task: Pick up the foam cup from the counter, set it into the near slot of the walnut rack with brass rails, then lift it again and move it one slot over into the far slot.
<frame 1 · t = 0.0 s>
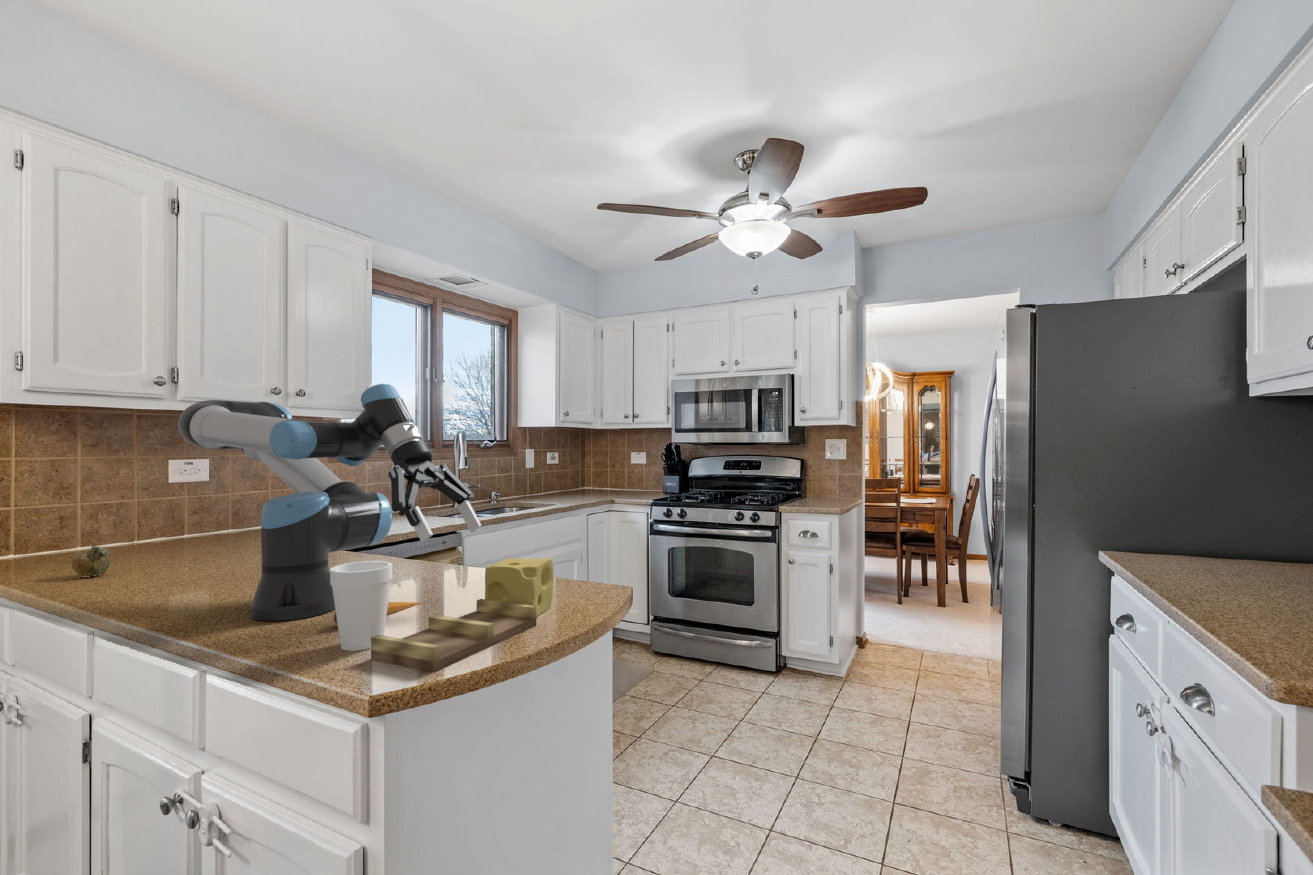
hand: (453, 533, 122), 15 cm above the worktop, tool tilted 35°, fingers open, 13 cm apart
rack: (460, 640, 103), on the worktop
foam cup: (362, 645, 102), on the worktop
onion: (91, 577, 156), on the worktop
cheese: (519, 613, 121), on the worktop
carrot: (384, 617, 119), on the worktop
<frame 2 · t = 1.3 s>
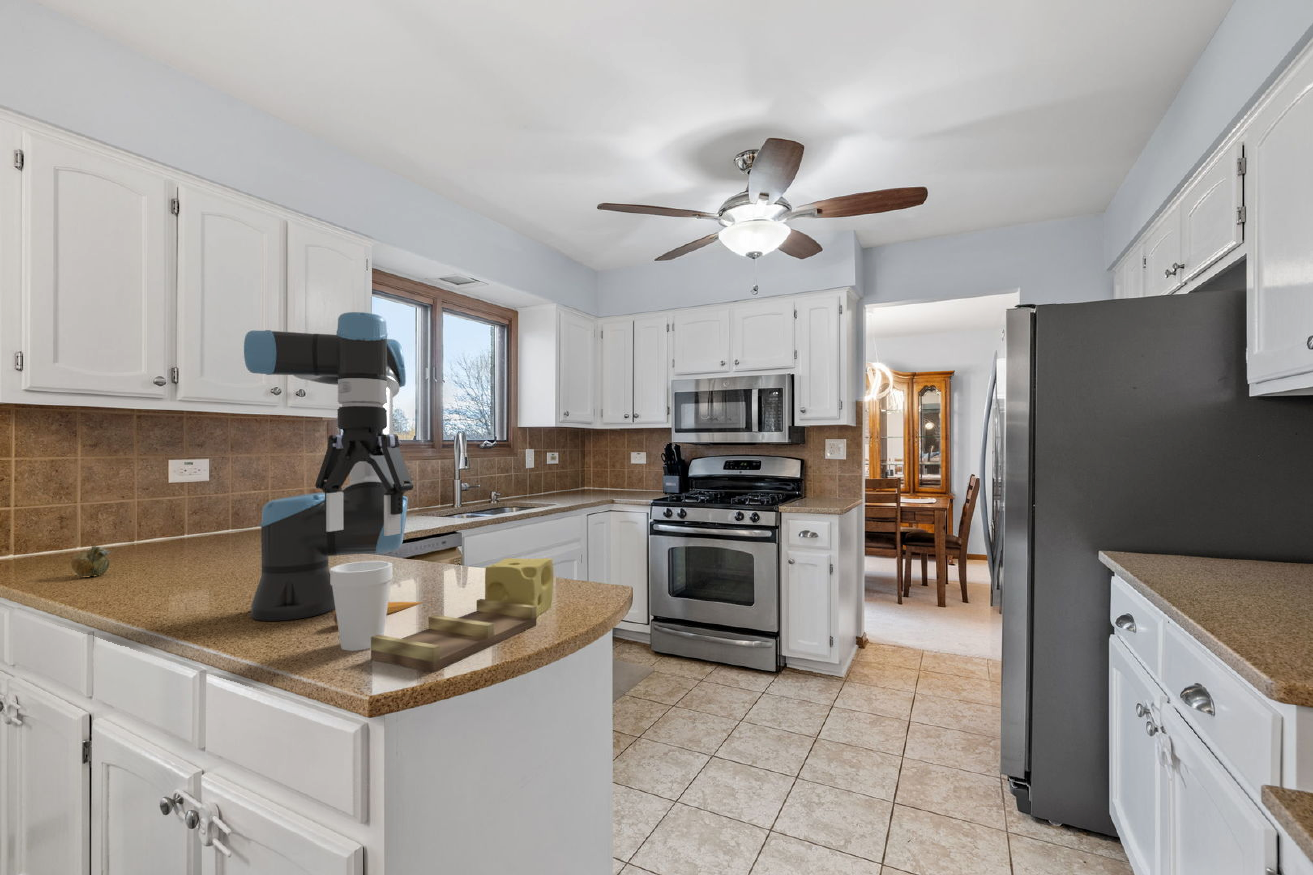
hand: (362, 532, 102), 19 cm above the worktop, tool pointing down, fingers open, 13 cm apart
nothing on the worktop moved.
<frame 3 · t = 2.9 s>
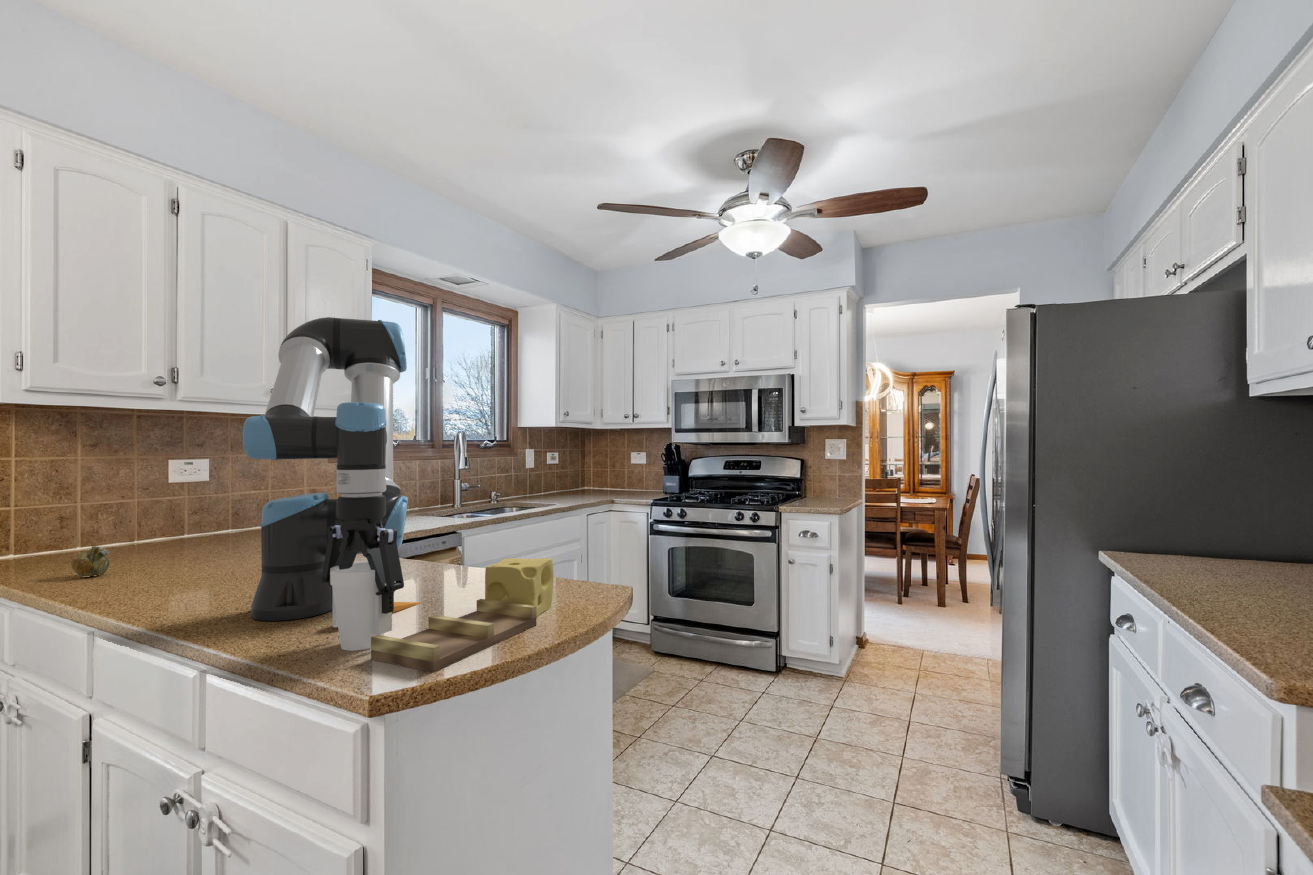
hand: (361, 628, 102), 3 cm above the worktop, tool pointing down, fingers closed on foam cup, 9 cm apart
foam cup: (362, 645, 102), on the worktop, touching gripper
everything else where it was.
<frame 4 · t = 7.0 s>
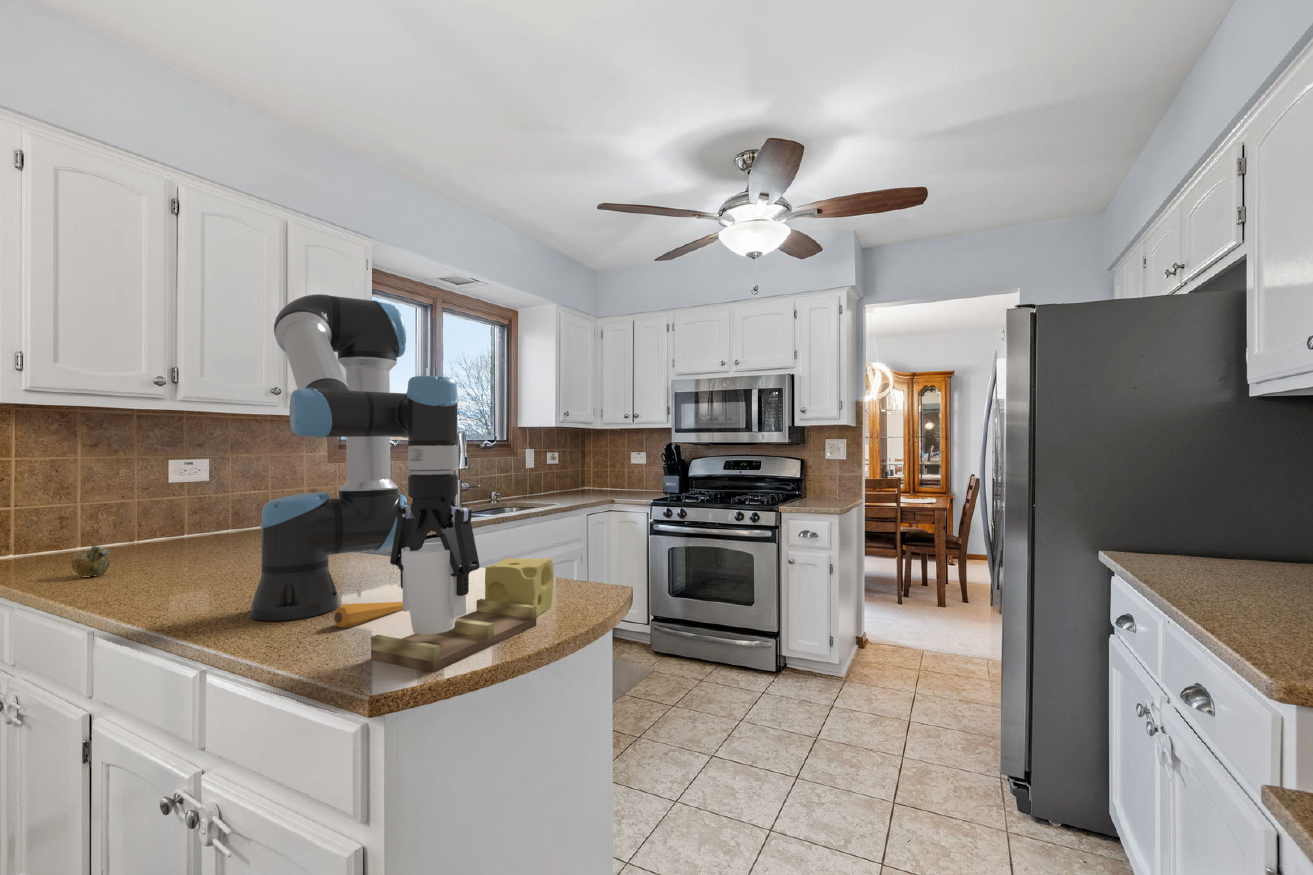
hand: (433, 612, 98), 6 cm above the worktop, tool pointing down, fingers closed on foam cup, 9 cm apart
foam cup: (433, 629, 97), point 4 cm above the worktop, touching gripper
everything else where it was.
when the fingers open (5 cm above the worktop, at t = 7.8 s): foam cup stays where it is, resting on rack.
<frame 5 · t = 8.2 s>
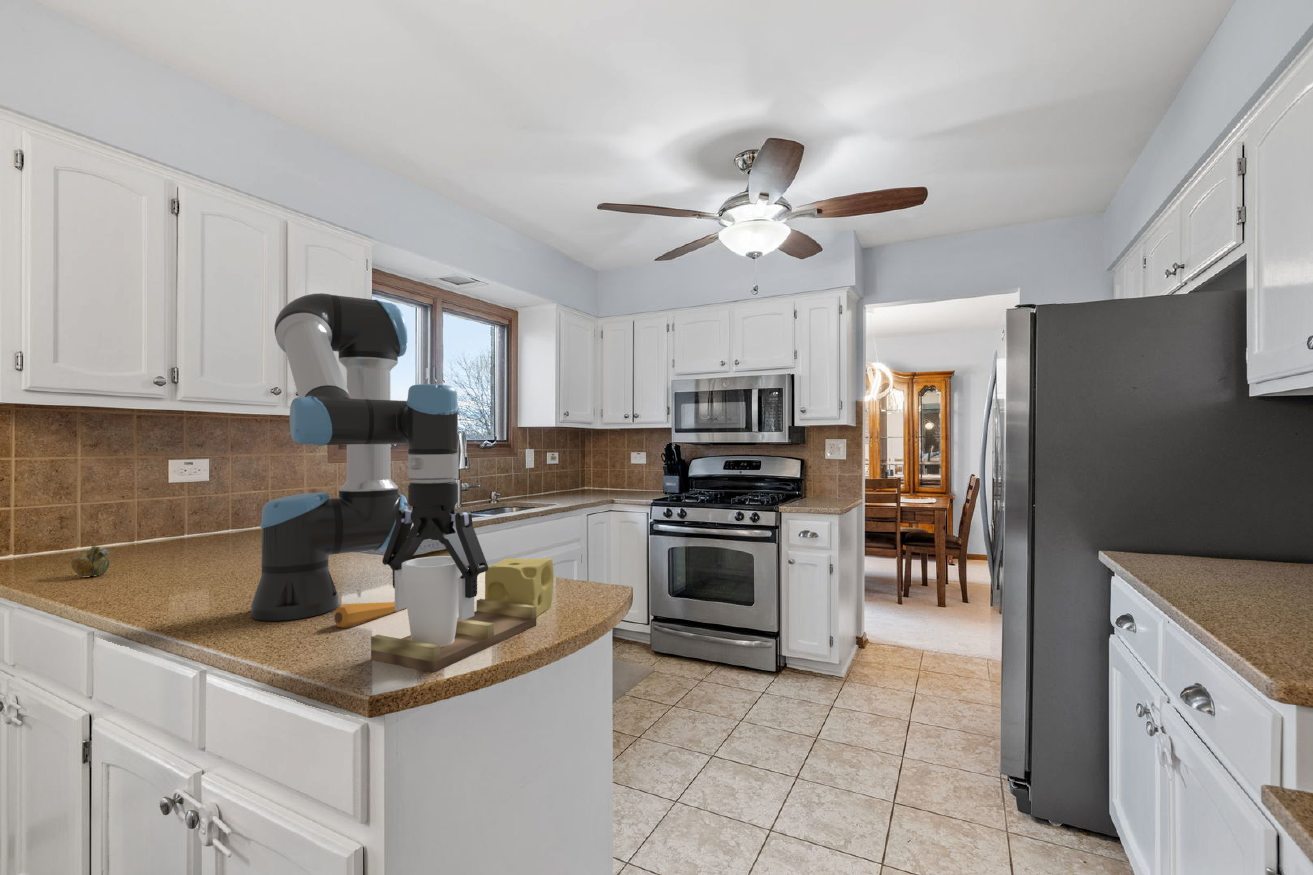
hand: (433, 613, 98), 6 cm above the worktop, tool pointing down, fingers open, 13 cm apart
foam cup: (433, 643, 98), point 1 cm above the worktop, touching rack
everything else where it was.
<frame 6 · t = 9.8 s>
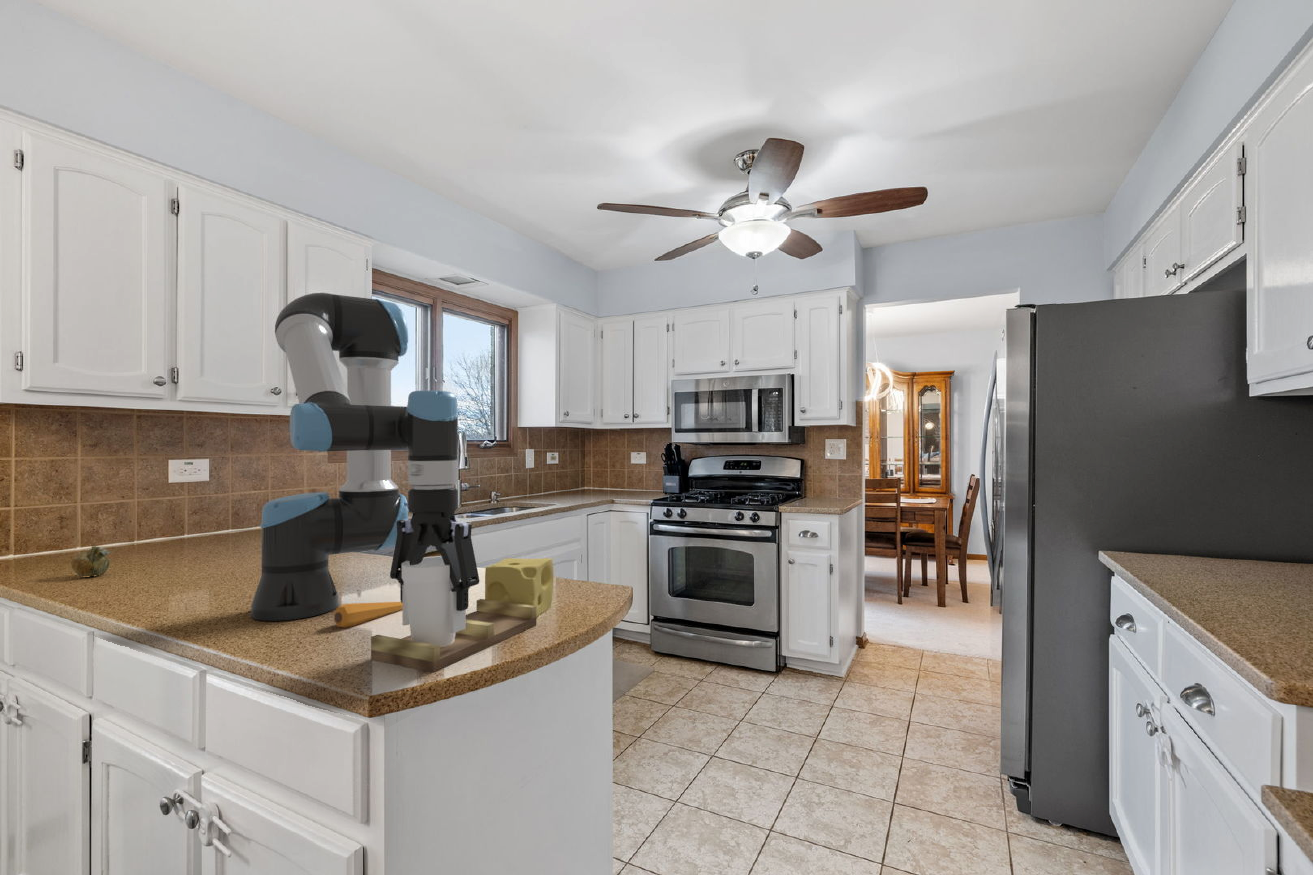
hand: (433, 626, 98), 4 cm above the worktop, tool pointing down, fingers closed on foam cup, 9 cm apart
foam cup: (433, 643, 98), point 1 cm above the worktop, touching gripper, rack
everything else where it was.
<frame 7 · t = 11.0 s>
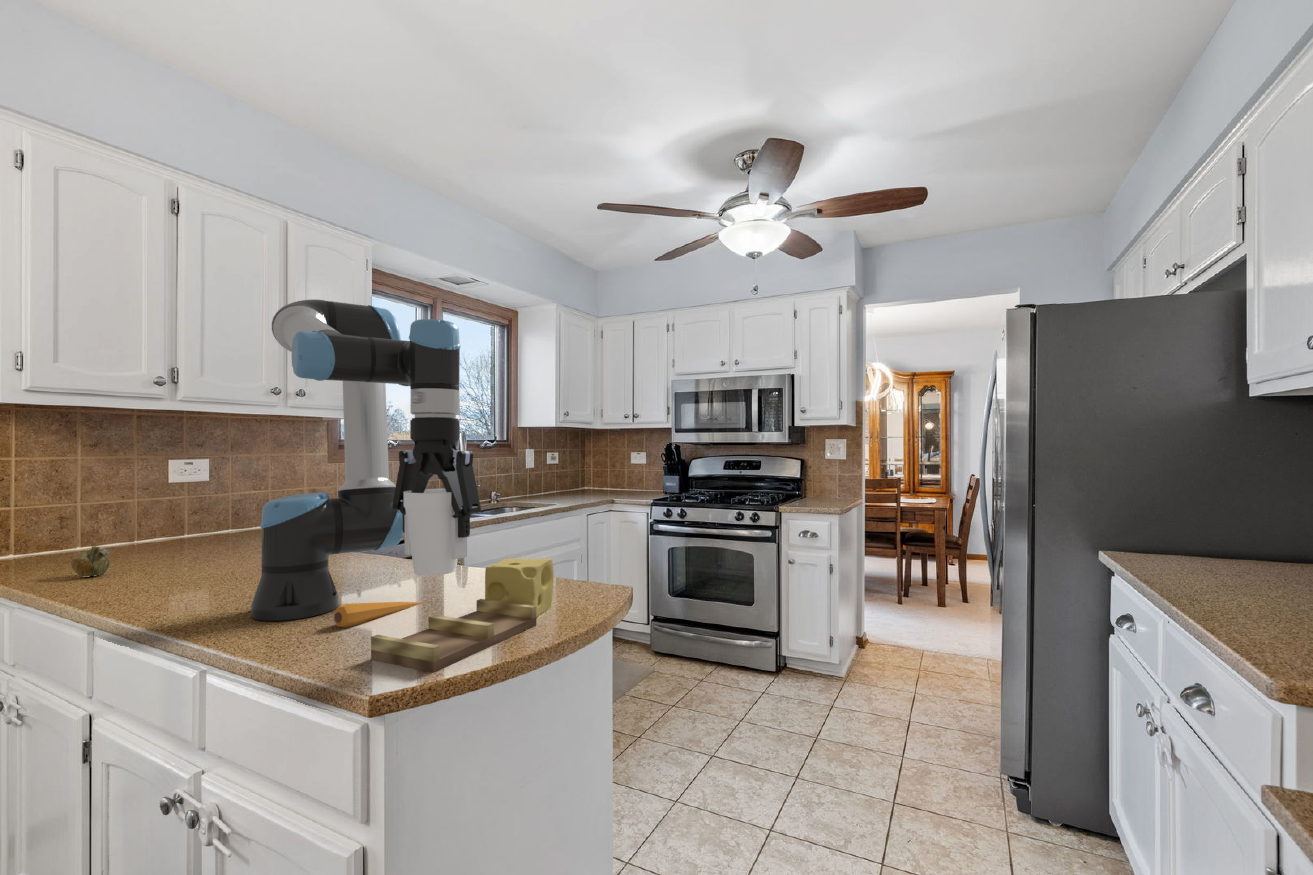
hand: (435, 555, 98), 15 cm above the worktop, tool pointing down, fingers closed on foam cup, 9 cm apart
foam cup: (435, 572, 98), point 13 cm above the worktop, touching gripper
everything else where it was.
when the fingers open (5 cm above the worktop, at t = 14.2 s): foam cup stays where it is, resting on rack.
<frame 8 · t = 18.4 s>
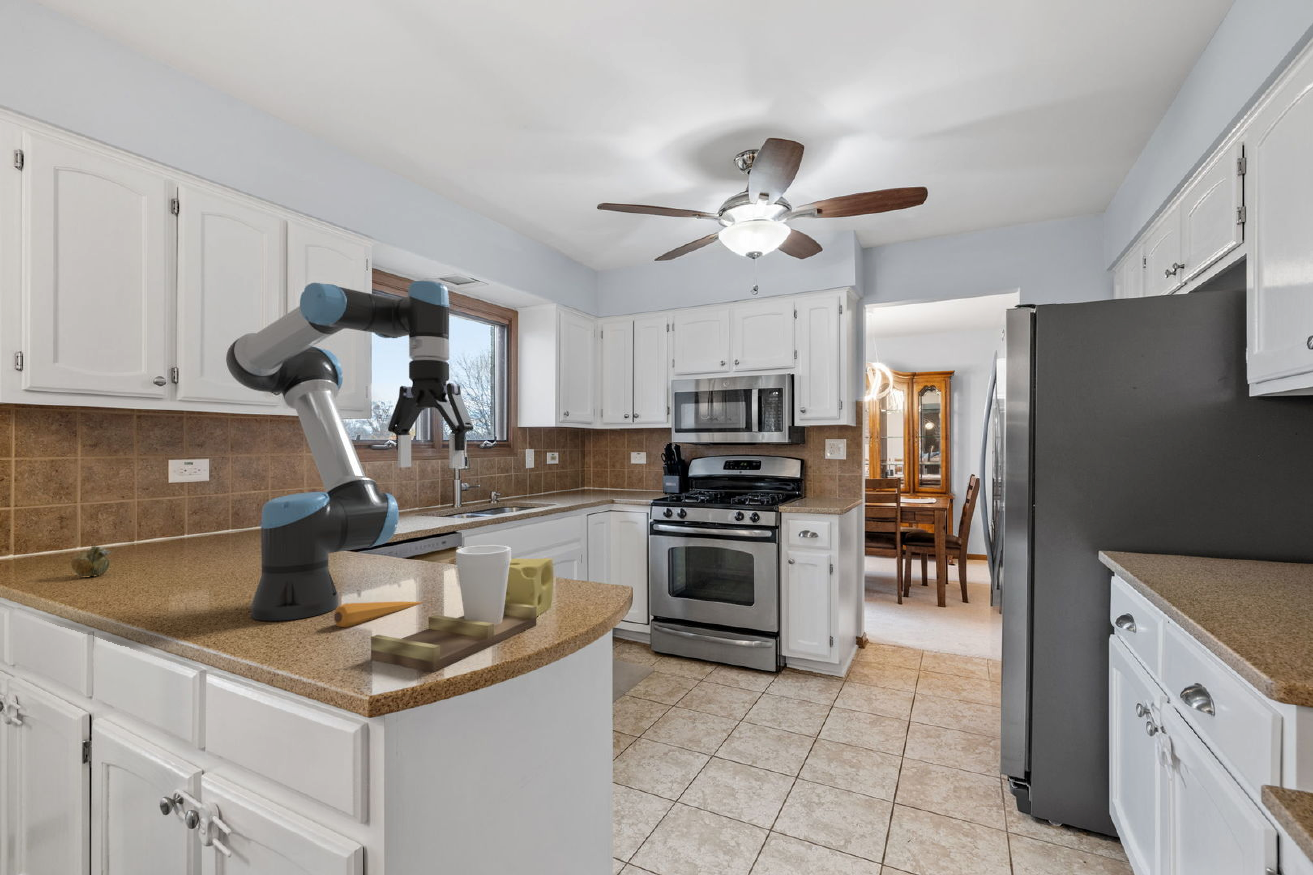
hand: (429, 467, 121), 29 cm above the worktop, tool pointing down, fingers open, 13 cm apart
foam cup: (484, 623, 108), point 1 cm above the worktop, touching rack
everything else where it was.
at the end: foam cup inside the target area (0.6 cm from its centre), point 1.3 cm above the worktop; foam cup tilted 0°; the gripper is holding nothing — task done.
